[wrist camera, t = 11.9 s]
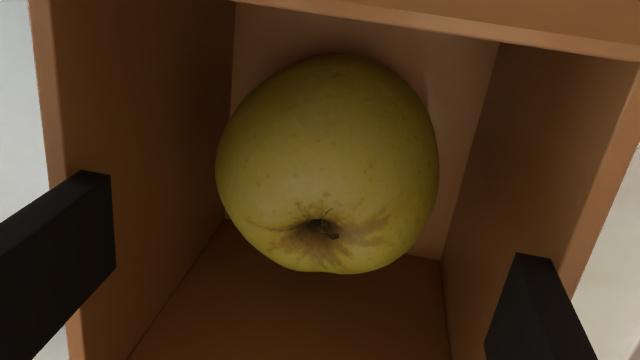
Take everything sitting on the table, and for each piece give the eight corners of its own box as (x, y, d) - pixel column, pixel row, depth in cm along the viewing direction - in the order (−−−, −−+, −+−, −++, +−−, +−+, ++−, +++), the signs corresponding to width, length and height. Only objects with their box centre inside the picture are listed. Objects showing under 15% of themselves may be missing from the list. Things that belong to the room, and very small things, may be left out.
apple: (274, -16, 19) (274, 98, 11) (440, 69, 22) (542, 213, 14) (201, 144, 23) (162, 318, 15) (351, 201, 25) (388, 375, 17)
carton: (230, -50, 21) (-589, -87, 4) (524, -8, 20) (1305, 218, 3) (217, 233, 26) (-121, 726, 9) (443, 277, 25) (517, 924, 8)
